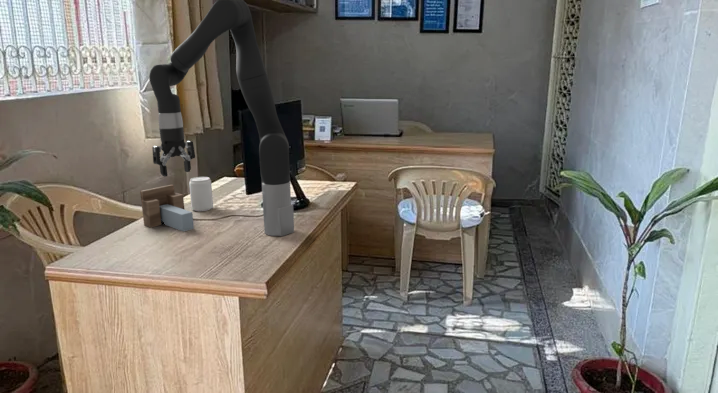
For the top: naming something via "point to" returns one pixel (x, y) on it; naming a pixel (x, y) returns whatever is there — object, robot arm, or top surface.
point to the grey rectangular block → (176, 217)
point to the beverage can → (201, 193)
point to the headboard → (158, 203)
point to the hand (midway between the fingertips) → (176, 173)
